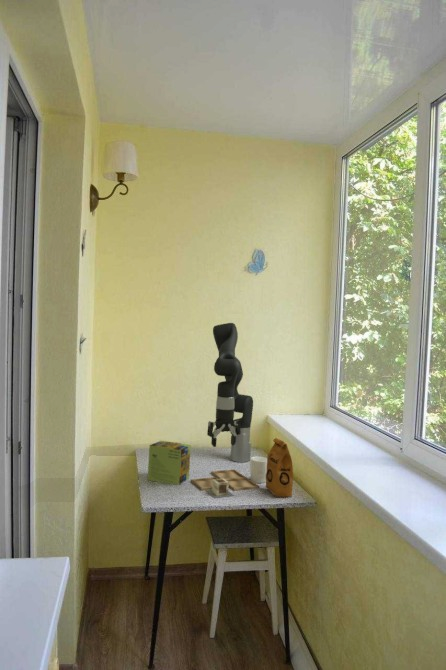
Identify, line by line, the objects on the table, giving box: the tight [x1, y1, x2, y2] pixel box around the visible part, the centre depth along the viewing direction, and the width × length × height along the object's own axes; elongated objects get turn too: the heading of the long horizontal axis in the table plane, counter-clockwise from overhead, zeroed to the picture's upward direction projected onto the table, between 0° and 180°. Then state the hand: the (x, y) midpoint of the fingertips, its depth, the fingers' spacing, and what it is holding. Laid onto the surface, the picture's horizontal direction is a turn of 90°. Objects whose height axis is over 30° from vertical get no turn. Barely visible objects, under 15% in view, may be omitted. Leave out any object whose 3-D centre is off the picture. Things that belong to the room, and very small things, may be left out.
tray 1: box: [190, 476, 218, 492], centre depth 220 cm, size 12×12×1 cm
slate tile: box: [204, 490, 235, 499], centre depth 210 cm, size 9×9×1 cm
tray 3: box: [225, 476, 260, 492], centre depth 222 cm, size 12×12×1 cm
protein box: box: [147, 440, 192, 486], centre depth 224 cm, size 10×15×16 cm
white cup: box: [249, 456, 267, 484], centre depth 230 cm, size 8×8×10 cm
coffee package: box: [265, 437, 294, 498], centre depth 216 cm, size 10×12×22 cm
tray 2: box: [210, 469, 246, 479], centre depth 233 cm, size 12×12×1 cm
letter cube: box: [212, 479, 229, 496], centre depth 210 cm, size 5×5×5 cm
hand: (223, 445), depth 214 cm, fingers open, 8 cm apart
